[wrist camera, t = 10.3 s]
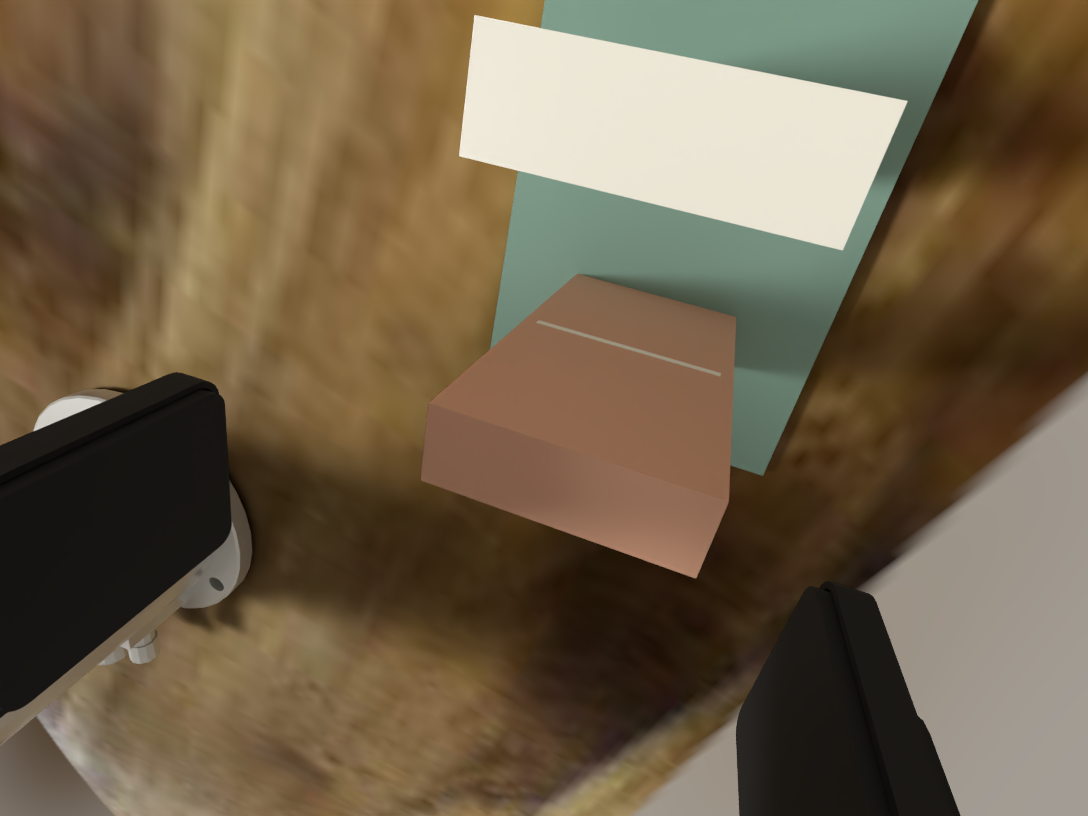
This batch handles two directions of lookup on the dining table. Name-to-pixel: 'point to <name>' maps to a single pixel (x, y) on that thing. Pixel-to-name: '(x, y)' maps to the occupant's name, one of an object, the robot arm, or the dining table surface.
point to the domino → (675, 130)
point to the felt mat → (717, 246)
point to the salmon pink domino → (598, 422)
